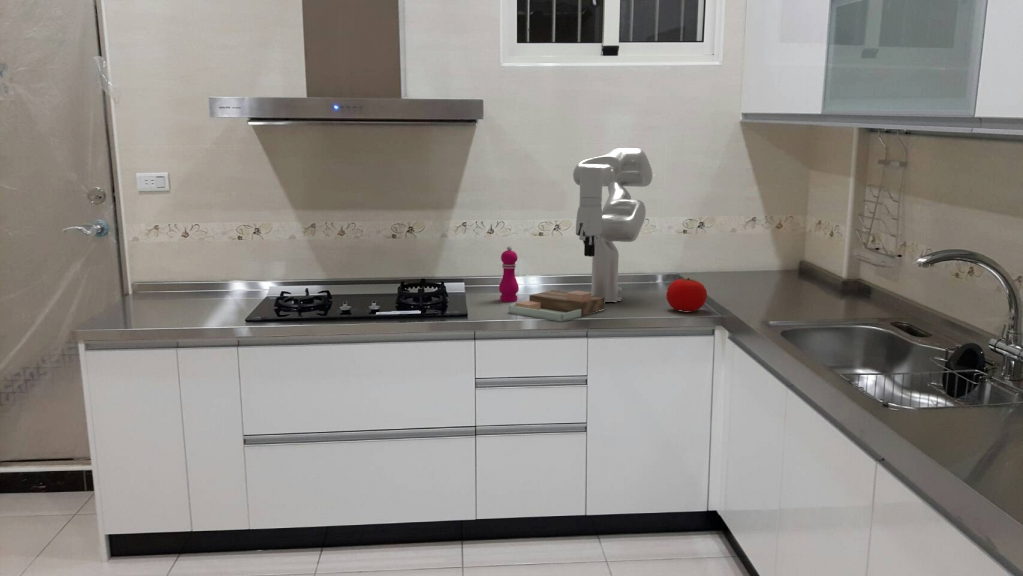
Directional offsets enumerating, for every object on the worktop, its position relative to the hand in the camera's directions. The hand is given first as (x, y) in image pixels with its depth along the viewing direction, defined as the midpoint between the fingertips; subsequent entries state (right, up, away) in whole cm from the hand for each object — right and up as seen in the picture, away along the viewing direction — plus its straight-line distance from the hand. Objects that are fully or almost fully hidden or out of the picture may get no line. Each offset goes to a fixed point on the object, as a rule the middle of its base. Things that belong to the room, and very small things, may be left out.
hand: (589, 255), depth 274 cm
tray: (-16, -20, -6) cm, 26 cm away
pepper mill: (-28, -16, +19) cm, 37 cm away
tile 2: (-4, -15, -3) cm, 16 cm away
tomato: (+34, -19, +3) cm, 39 cm away
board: (-7, -18, +4) cm, 20 cm away
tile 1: (-21, -16, -2) cm, 27 cm away
